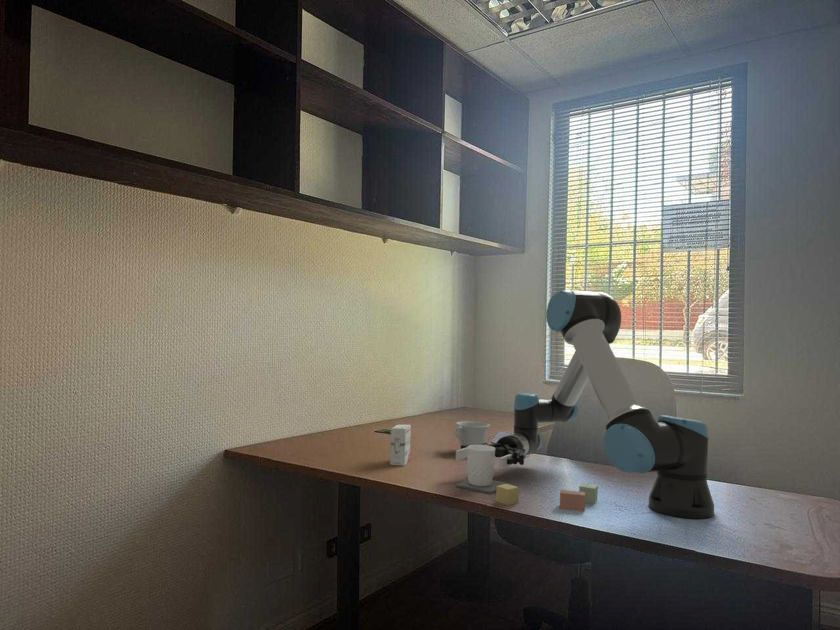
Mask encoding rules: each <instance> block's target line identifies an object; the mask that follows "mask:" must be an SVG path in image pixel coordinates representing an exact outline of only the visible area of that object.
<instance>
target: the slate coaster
mask: <svg viewBox="0 0 840 630" xmlns="http://www.w3.org/2000/svg"><path fill="white" fill-rule="evenodd" d="M503 484H510V483H508V482H503V481H499V480H494V479H492V484H491V485H489V486H475V485H471V484H470V483H468V479H466V480H464V481H461V482H459V483H455V487H456V488H461V489H465V490H469V491H474V492H480V493H484V494H489V495H493V494H494V493H496V486H499V485H503Z"/></svg>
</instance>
